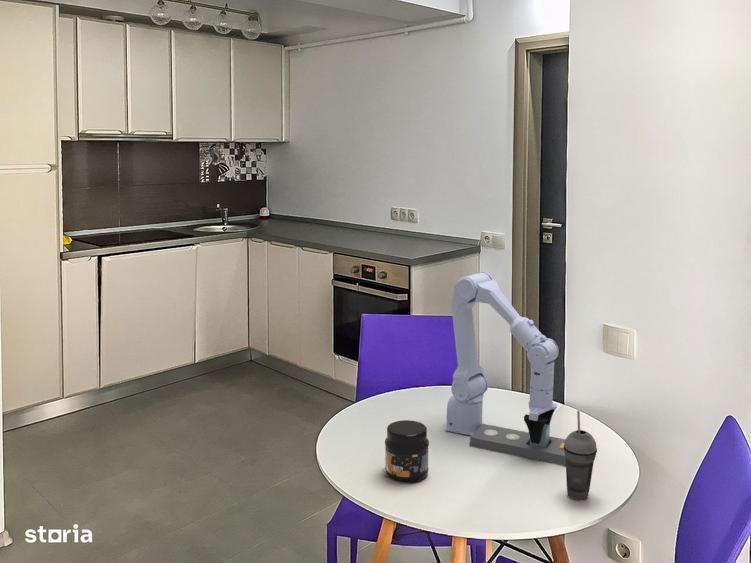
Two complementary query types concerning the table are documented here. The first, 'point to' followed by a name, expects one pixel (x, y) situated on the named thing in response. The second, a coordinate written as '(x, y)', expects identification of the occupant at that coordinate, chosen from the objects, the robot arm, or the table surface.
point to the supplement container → (406, 451)
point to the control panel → (517, 444)
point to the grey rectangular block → (543, 438)
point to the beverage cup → (579, 462)
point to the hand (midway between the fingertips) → (539, 437)
